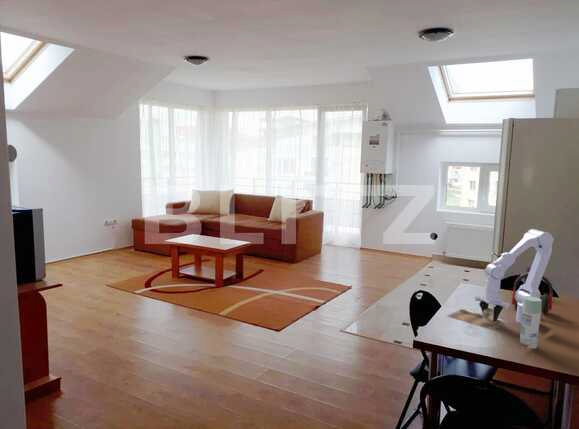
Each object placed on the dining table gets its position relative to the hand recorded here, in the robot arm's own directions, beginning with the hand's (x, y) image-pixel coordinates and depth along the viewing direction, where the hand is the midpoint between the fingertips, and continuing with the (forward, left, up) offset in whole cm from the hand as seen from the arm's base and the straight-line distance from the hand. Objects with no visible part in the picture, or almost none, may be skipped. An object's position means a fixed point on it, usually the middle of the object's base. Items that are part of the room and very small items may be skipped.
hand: (490, 319), depth 204 cm
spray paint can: (-20, +10, -3) cm, 22 cm away
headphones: (-5, -36, -3) cm, 36 cm away
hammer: (+5, -54, -3) cm, 54 cm away
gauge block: (0, 0, -1) cm, 1 cm away
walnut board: (+6, 0, -3) cm, 7 cm away
